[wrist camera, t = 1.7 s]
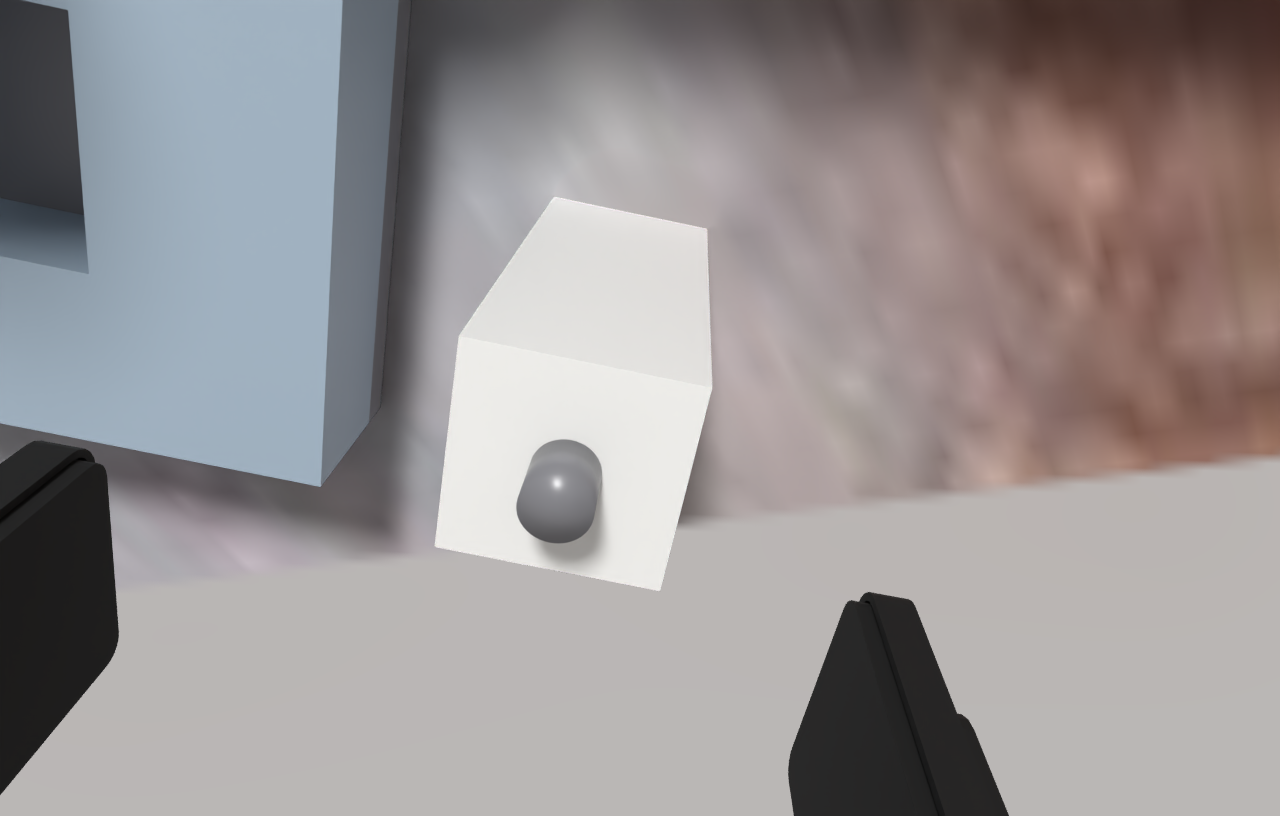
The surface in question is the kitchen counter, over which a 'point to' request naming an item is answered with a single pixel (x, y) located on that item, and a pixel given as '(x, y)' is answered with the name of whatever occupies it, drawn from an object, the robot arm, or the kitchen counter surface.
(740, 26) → the kitchen counter surface
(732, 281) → the kitchen counter surface
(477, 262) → the kitchen counter surface
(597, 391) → the white square peg
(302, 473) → the socket plate
